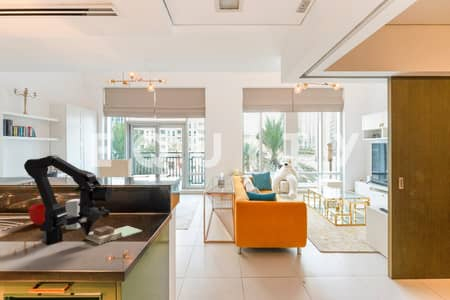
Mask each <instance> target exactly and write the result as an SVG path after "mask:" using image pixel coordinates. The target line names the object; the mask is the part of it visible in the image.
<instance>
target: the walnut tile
mask: <svg viewBox="0 0 450 300" xmlns="http://www.w3.org/2000/svg"><path fill="white" fill-rule="evenodd" d="M114 229H115V227H112V226H109V225H106V226H105V225H104V226H102V227H97V228H93V231H92V232H93V234H96V235H98V236H103V235H106V234H110V233H113V232H114Z"/></svg>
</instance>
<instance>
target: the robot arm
mask: <svg viewBox="0 0 450 300" xmlns="http://www.w3.org/2000/svg"><path fill="white" fill-rule="evenodd" d="M50 167H54V168H55V169H56V170H58V171H60V172H62V173H63V174H64V175H65V174H66V176H69V177H70V178H72V180H73V181H74V183H75V184H76V185H78V186H77V187H76V188H75V189H74V192H79V199H80V203H78V206H80V212H78V215H80V216H73V215H69V216H67V214H68V213H67V212H66V205H63V206H61V205H60V204H59V203H58V201H57V198H56V195H55V194H54V191H53V188H52V186H51V183H50V180H49V178H48V172H49V168H50ZM23 168H24V170H25V171H26V173H27V175H28V176H29V177H30V178H32V179H33V180H34V183H35V185H36V188H37V189H38V192H39V195H40V198H41V200H42V204H44V206H45V209H46V210H45V214H44V218H45V221H44V222H43V223H42V224H41V225H40V226H38V227H39V230H40V232H43V237H42V238H43V240H41V243H42V244H44V245H46V246H49V245H54V244H56V243H60V242H63V241H64V239H63V234H64V233H63V229H62V227H64V226H66V225H72V224H76V223H79V224H80V226H81V227H80V228H81V230H82V231H83V234H84V235H85V237H86V236H88V234H89V233H90V232H91V228H92V226H93V225H94V223H95V222H97V221H98V220H101V217H102V218H107V217H110V211H109V210H108V209H105V207H104V206H101V207H96V206H97V204H96V202H106V203H107V202H110V201H111V200H112V197H113V194H112V193H113V192H112V190H111V189H110V186H109V185H107V186H102V185H101V183H100V181H98V179H97V175H96V174H95V173H93V172H91V171H88V170H83V169H81V168H78V167H77V166H75V165H73V164H71V163H70V162H68V161H66V160H64V158H61V157H59V155H47V156H45V157H40V158H29V159H27V160H26V161H25V162H24V164H23Z"/></svg>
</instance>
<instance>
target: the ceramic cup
mask: <svg viewBox="0 0 450 300" xmlns="http://www.w3.org/2000/svg"><path fill="white" fill-rule="evenodd" d="M45 210H46V209H45V206H44V203H41V204H34V205H31V206H29V207H28V214H29V219H30V221H31V222H32V223H33V224H34V225H35V226H38V227H39V226H40V225H41V224H42V223H43V222H44V221H45V218H44V214H45Z"/></svg>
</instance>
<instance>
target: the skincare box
mask: <svg viewBox="0 0 450 300" xmlns="http://www.w3.org/2000/svg"><path fill="white" fill-rule="evenodd" d="M78 203H80V198H74V199H73V198H72V199H69V200H67V201H65V208H66V212H67V213H68V214H67V216H69V215H73V216H80V215H78V212H80V206H78ZM79 228H81V226H80V224H79V223H76V224H72V225H65V230H78V229H79Z"/></svg>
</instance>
